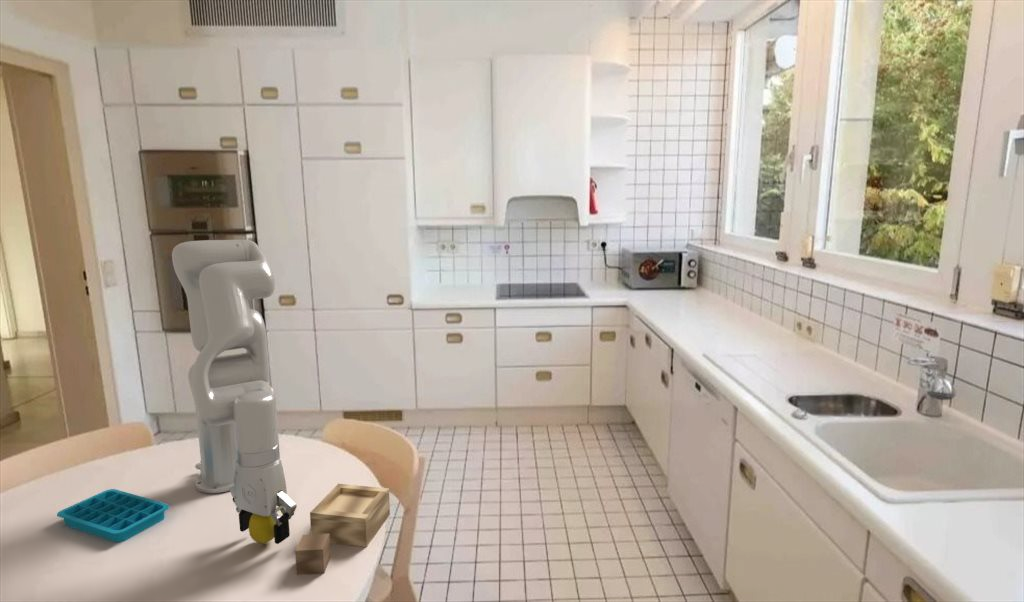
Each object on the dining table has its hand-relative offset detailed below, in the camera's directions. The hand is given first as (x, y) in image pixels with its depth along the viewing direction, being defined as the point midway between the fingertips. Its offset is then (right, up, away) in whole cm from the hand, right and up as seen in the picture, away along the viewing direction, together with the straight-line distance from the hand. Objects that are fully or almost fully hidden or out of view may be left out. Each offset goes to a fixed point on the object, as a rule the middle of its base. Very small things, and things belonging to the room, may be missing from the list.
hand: (264, 533), depth 109 cm
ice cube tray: (-36, -1, +8) cm, 37 cm away
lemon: (0, -2, 0) cm, 2 cm away
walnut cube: (+12, -3, -6) cm, 14 cm away
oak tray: (+16, -1, +6) cm, 17 cm away
